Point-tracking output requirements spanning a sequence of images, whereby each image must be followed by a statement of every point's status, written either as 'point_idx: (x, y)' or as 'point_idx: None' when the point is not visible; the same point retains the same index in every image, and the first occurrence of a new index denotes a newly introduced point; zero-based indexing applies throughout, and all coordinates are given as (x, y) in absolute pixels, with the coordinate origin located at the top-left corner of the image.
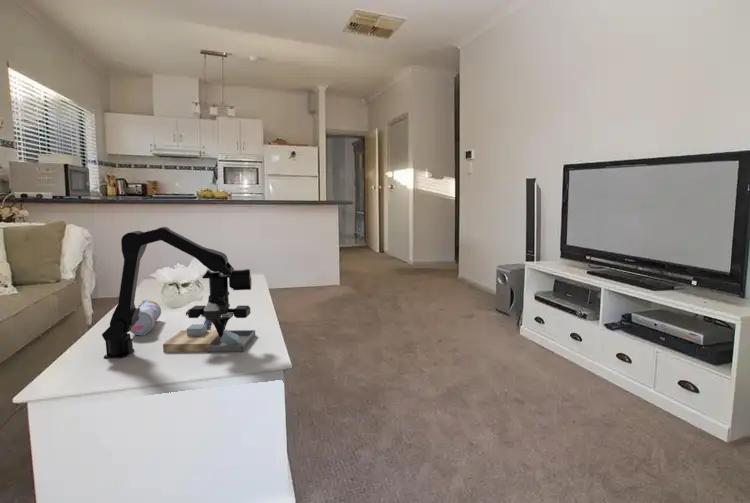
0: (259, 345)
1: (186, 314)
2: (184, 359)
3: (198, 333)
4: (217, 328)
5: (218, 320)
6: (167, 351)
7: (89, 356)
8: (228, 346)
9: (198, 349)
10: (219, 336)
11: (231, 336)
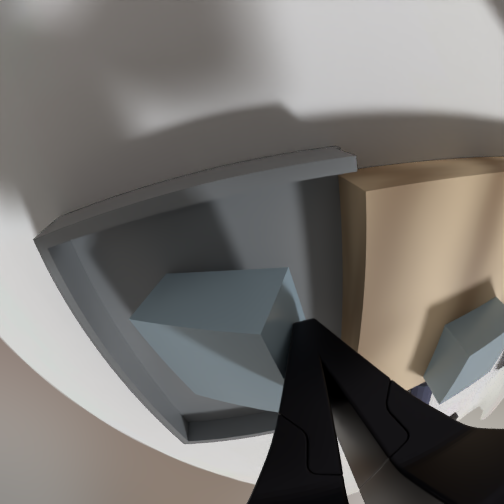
0: (59, 332)
1: (455, 413)
2: (417, 17)
3: (465, 327)
4: (366, 386)
5: (388, 493)
6: None
7: None
8: (142, 200)
9: (417, 164)
10: (315, 319)
11: (194, 352)
